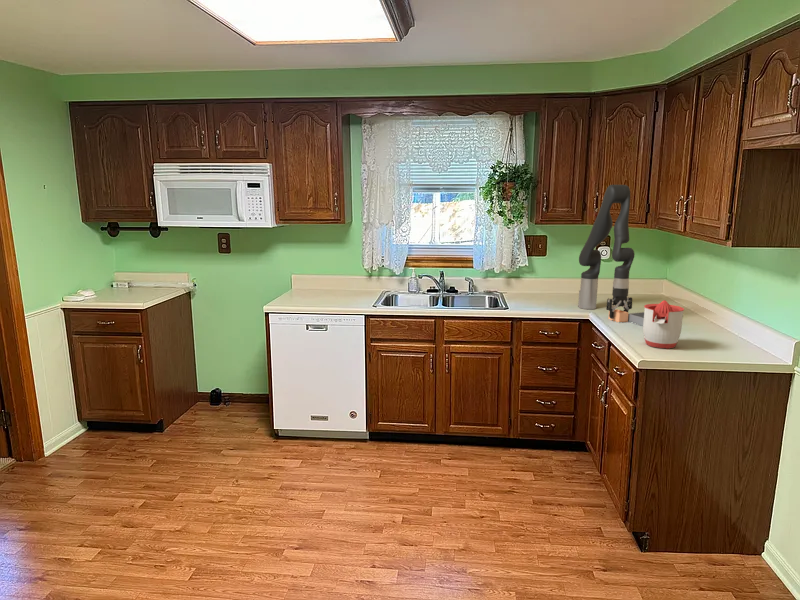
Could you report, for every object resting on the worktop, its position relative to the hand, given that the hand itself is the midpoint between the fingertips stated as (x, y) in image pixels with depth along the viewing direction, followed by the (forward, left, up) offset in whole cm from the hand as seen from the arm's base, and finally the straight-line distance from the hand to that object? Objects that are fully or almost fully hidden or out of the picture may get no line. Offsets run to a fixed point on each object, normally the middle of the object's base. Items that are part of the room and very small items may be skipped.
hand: (618, 317), depth 288 cm
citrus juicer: (+44, -15, -2) cm, 47 cm away
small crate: (0, 0, -2) cm, 2 cm away
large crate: (+8, +11, -2) cm, 13 cm away
